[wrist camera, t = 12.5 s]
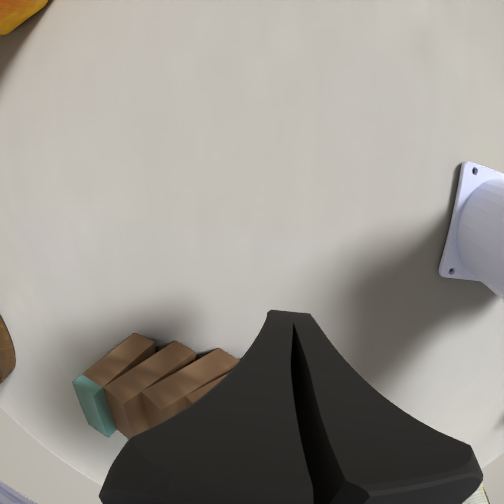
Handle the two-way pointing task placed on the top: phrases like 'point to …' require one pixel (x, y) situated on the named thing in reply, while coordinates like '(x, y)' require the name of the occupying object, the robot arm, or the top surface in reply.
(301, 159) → the top surface
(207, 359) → the domino
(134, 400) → the domino
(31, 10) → the bucket of meat
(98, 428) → the domino
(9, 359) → the wooden container
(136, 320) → the top surface
